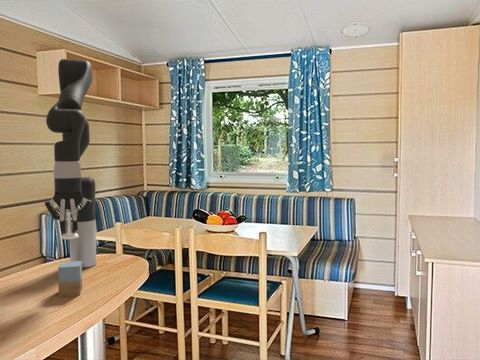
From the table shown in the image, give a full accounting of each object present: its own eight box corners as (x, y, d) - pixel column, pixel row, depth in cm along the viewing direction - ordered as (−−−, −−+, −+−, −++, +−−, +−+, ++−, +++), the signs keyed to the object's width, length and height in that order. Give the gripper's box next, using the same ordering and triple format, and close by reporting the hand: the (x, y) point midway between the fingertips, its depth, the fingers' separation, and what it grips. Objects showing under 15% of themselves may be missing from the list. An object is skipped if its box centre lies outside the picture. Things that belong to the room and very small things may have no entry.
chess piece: (64, 235, 130) (62, 204, 129) (80, 235, 131) (79, 203, 130) (58, 239, 125) (57, 206, 124) (75, 239, 126) (74, 206, 125)
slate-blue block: (61, 276, 131) (61, 262, 131) (82, 274, 133) (81, 260, 132) (58, 282, 125) (58, 267, 125) (80, 280, 127) (79, 266, 127)
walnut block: (61, 290, 132) (61, 276, 131) (82, 288, 133) (81, 274, 133) (58, 296, 126) (58, 282, 125) (80, 295, 127) (79, 280, 127)
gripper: (93, 174, 132) (94, 229, 133) (45, 175, 128) (47, 231, 130) (90, 176, 124) (92, 234, 126) (40, 177, 121) (42, 236, 123)
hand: (69, 232), depth 128 cm, fingers closed on chess piece
